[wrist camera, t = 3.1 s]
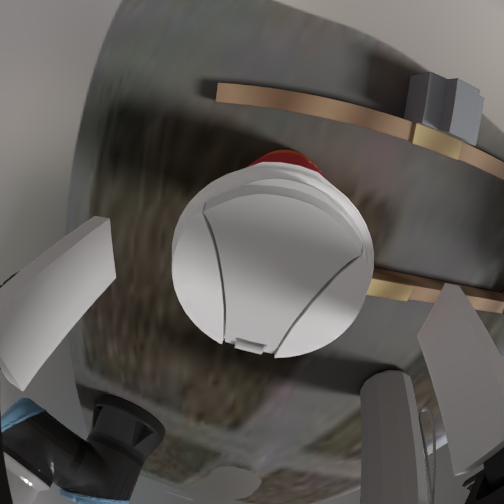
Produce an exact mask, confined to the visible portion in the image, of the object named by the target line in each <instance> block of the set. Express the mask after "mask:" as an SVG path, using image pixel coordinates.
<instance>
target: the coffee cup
mask: <svg viewBox="0 0 504 504" xmlns="http://www.w3.org/2000/svg"><path fill="white" fill-rule="evenodd" d="M373 270H374V251H373V245H372V239H371V236H370V233H369V231H368V228H367V225H366V223H365V221H364V220H363V218H362V216H361V215H360V213H359V211H358V210H357V208H356V207H355V206H354V205H353V204H352V202H351V201H350V200H349V199H348V198H347V197H346V196H345V195H344V194H343V193H341V192H340V191H339V190H338V189H337V188H335V187H334V186H333V185H332V184H331V183H330V182H328V181H327V179H326V178H325V177H324V175H323V174H322V172H321V171H320V170H319V168H318V167H317V166H316V165H315V164H314V163H313V162H312V161H311V160H310V159H309V158H308V157H306V156H305V155H303V154H301V153H299V152H296V151H293V150H276V151H273V152H270V153H267V154H266V155H264V156H262V157H260V158H259V159H257V160H256V161H254V162H253V163H251V164H250V165H249V166H247V167H246V168H244V169H241V170H238V171H235V172H232V173H229V174H226V175H224V176H222V177H220V178H218V179H216V180H215V181H213V182H211V183H210V184H208V185H207V186H206V187H205V188H203V189H202V190H201V191H199V192H198V193H197V194H196V195H195V197H194V198H193V199H192V200H191V201H190V202H189V203H188V205H187V206H186V208H185V209H184V211H183V213H182V214H181V216H180V218H179V221H178V223H177V226H176V229H175V232H174V237H173V243H172V278H173V283H174V288H175V291H176V294H177V297H178V299H179V302H180V303H181V305H182V307H183V309H184V311H185V312H186V314H187V315H188V316H189V318H190V319H191V320H192V322H193V323H194V324H195V325H196V326H197V327H198V328H199V329H200V330H201V331H203V332H204V333H205V334H206V335H208V336H209V337H210V338H212V339H213V340H215V341H217V342H218V343H220V344H222V342H223V339H224V338H225V342H228V343H231V344H235V348H237V349H241V350H245V351H249V352H253V353H257V354H262V353H263V352H267V353H271V354H272V353H273V352H274V357H275V358H285V357H292V356H299V355H302V354H306V353H309V352H312V351H315V350H317V349H319V348H322V347H324V346H325V345H327V344H329V343H330V342H332V341H334V340H335V339H336V338H337V337H339V336H340V335H341V334H342V333H344V331H345V330H346V329H347V328H348V327H349V326H350V325H351V324H352V322H353V321H354V319H355V318H356V316H357V315H358V313H359V312H360V310H361V307H362V305H363V303H364V300H365V297H366V293H367V291H368V288H369V286H370V283H371V279H372V275H373Z"/></svg>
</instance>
